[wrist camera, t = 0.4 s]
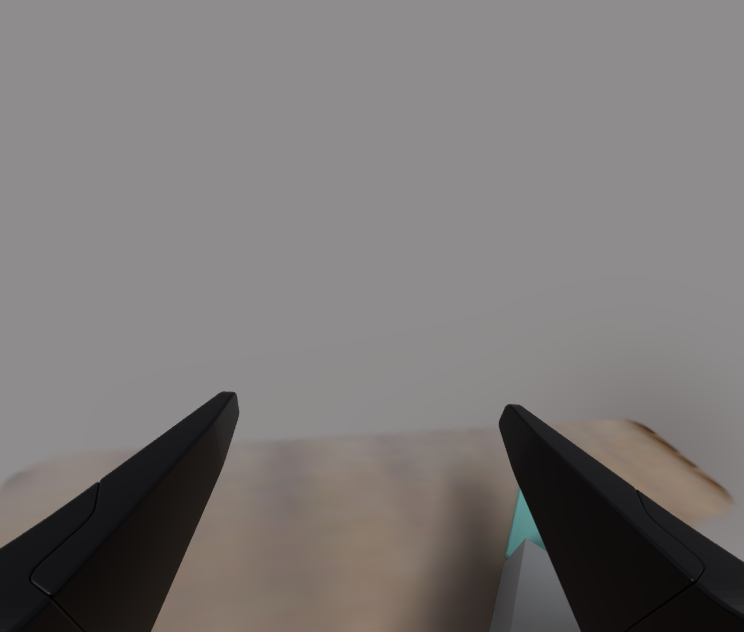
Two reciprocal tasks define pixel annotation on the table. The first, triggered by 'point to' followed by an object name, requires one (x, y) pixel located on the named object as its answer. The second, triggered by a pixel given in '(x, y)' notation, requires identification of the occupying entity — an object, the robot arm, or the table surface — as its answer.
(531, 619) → the plinth
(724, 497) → the table surface
